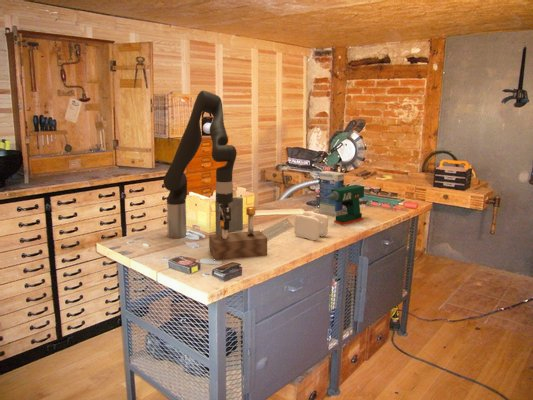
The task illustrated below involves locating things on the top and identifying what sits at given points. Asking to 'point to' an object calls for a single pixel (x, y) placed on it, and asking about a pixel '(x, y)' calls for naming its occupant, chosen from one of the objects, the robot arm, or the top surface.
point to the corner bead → (277, 229)
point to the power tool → (348, 202)
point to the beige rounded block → (311, 225)
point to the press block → (237, 245)
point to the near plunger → (224, 232)
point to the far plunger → (250, 219)
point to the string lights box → (326, 184)
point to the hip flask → (232, 216)
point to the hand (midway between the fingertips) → (224, 226)
